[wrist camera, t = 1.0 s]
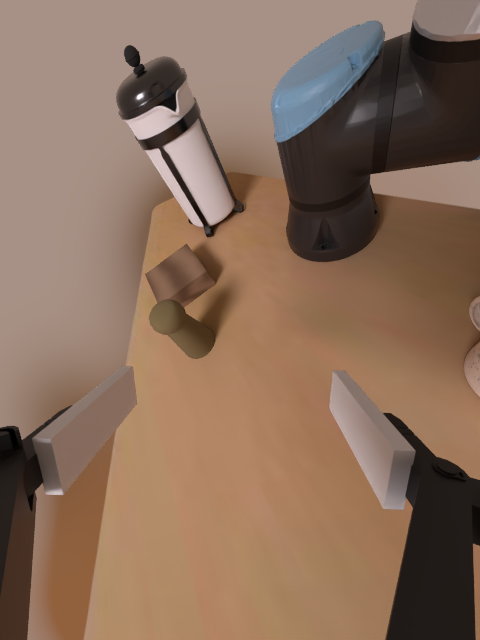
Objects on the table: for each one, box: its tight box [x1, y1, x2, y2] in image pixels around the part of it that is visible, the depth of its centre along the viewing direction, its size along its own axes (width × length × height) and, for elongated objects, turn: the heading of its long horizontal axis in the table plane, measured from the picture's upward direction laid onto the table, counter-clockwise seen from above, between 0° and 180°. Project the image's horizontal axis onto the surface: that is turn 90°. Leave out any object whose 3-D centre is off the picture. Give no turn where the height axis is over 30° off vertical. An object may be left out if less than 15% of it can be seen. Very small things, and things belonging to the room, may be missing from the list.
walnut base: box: [145, 244, 216, 307], centre depth 49 cm, size 11×11×4 cm
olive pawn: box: [149, 299, 215, 359], centre depth 37 cm, size 6×6×11 cm
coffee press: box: [116, 45, 244, 237], centre depth 47 cm, size 17×16×30 cm
